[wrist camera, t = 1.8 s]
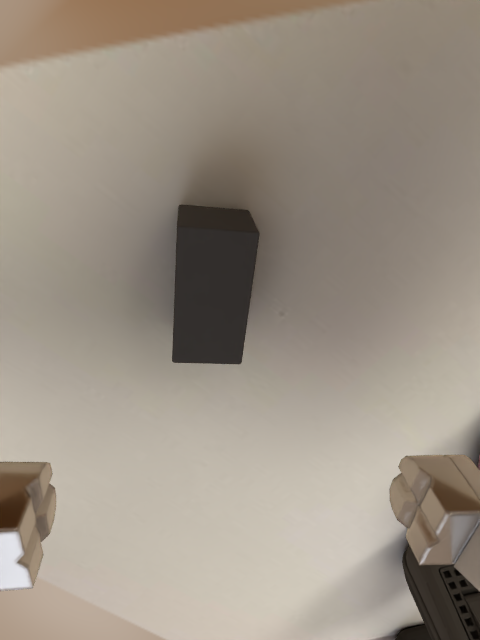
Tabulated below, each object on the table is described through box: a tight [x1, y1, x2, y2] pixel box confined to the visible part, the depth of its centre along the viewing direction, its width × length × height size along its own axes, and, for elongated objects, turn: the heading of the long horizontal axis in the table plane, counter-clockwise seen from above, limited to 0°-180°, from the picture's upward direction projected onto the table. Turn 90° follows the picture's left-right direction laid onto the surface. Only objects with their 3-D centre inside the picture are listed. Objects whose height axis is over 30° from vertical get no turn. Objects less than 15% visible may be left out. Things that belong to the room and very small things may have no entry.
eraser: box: [172, 205, 259, 364], centre depth 17 cm, size 6×3×3 cm, turn 174°
